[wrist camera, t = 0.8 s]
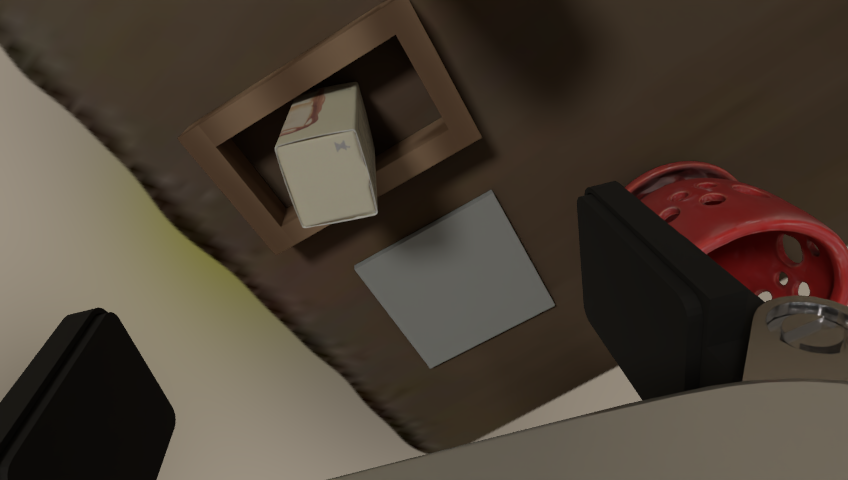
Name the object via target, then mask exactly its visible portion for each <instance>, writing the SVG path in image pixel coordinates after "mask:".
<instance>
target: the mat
mask: <svg viewBox="0 0 848 480" xmlns="http://www.w3.org/2000/svg"><path fill="white" fill-rule="evenodd" d="M355 271H356V272H357V273H358V275H359V276H360V277H361V279H362V280H363V281H364V282H365V284H366V285H367V286H368V288H369V289H370V290H371V292H372V293H373V294H374V296H375V297H376V298H377V299H378V301H379V302H380V303H381V305H382V306H383V307H384V309H385V310H386V311H387V313H388V314H389V315H390V316H391V318H392V319H393V320H394V322H395V323H396V324H397V326H398V327H399V328H400V329H401V331H402V332H403V333H404V335H405V336H406V337H407V339H408V340H409V341H410V343H411V344H412V345H413V346H414V348H415V349H416V350H417V352H418V353H419V354H420V356H421V357H422V358H423V360H424V361H425V362H426V363H427V365H428V366H429V367H430V369H431V368H433V367H435V366H437V365H439V364H441V363H443V362H445V361H447V360H448V359H450V358H452V357H454V356H456V355H458V354H460V353H462V352H464V351H466V350H468V349H470V348H472V347H474V346H476V345H478V344H480V343H482V342H484V341H486V340H488V339H490V338H492V337H494V336H496V335H498V334H500V333H502V332H504V331H506V330H508V329H510V328H512V327H514V326H516V325H518V324H520V323H522V322H524V321H526V320H528V319H530V318H532V317H534V316H536V315H538V314H539V313H541V312H543V311H545V310H547V309H549V308H551V307H553V306H555V304H554V302H553V300H552V298H551V297H550V295H549V293H548V291H547V289H546V288H545V286H544V284H543V282H542V280H541V279H540V277H539V275H538V273H537V271H536V269H535V268H534V266H533V264H532V262H531V260H530V259H529V257H528V255H527V253H526V251H525V250H524V248H523V246H522V244H521V242H520V241H519V239H518V237H517V235H516V233H515V231H514V230H513V228H512V226H511V224H510V222H509V221H508V219H507V217H506V215H505V213H504V212H503V210H502V208H501V206H500V204H499V202H498V201H497V199H496V197H495V195H494V193H493V192H492V190H490V191H488V192H486V193H485V194H483V195H481V196H479V197H477V198H476V199H474V200H472V201H470V202H468V203H467V204H465V205H463V206H461V207H459V208H458V209H456V210H454V211H452V212H450V213H448V214H447V215H445V216H443V217H441V218H439V219H438V220H436V221H434V222H432V223H430V224H429V225H427V226H425V227H423V228H421V229H420V230H418V231H416V232H414V233H412V234H411V235H409V236H407V237H405V238H403V239H402V240H400V241H398V242H396V243H394V244H393V245H391V246H389V247H387V248H385V249H383V250H382V251H380V252H378V253H376V254H374V255H373V256H371V257H369V258H367V259H365V260H364V261H362V262H360V263H358V264H356V265H355Z"/></svg>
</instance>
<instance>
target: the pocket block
mask: <svg viewBox="0 0 848 480" xmlns="http://www.w3.org/2000/svg"><path fill="white" fill-rule="evenodd" d="M394 35H396V36H397V38H398V40H399V41H400V43H401V45H402V47H403V49H404V50H405V52H406V54H407V56H408V57H409V59H410V61H411V63H412V65H413V66H414V68H415V70H416V72H417V74H418V75H419V77H420V79H421V81H422V82H423V84H424V86H425V88H426V90H427V91H428V93H429V95H430V97H431V98H432V100H433V102H434V104H435V106H436V107H437V109H438V111H439V113H440V114H441V116H442V117H441V118H440V119H438V120H436V121H435V122H433V123H431V124H429V125H428V126H426V127H424V128H423V129H421V130H419V131H417V132H416V133H414V134H412V135H411V136H409V137H407V138H406V139H404V140H402V141H400V142H399V143H397V144H395V145H394V146H392V147H390V148H389V149H387V150H385V151H383V152H382V153H380V154H378V155H377V156H375V168H376V187H377V198H378V197H379V196H381V195H383V194H384V193H386V192H388V191H390V190H391V189H393V188H395V187H397V186H398V185H400V184H402V183H404V182H405V181H407V180H409V179H411V178H412V177H414V176H416V175H418V174H419V173H421V172H423V171H425V170H426V169H428V168H430V167H432V166H433V165H435V164H437V163H439V162H440V161H442V160H444V159H446V158H447V157H449V156H451V155H453V154H454V153H456V152H458V151H460V150H461V149H463V148H465V147H467V146H468V145H470V144H472V143H474V142H475V141H477V140H479V139H481V138H482V136H481V135H480V133H479V131H478V129H477V127H476V125H475V123H474V121H473V120H472V118H471V116H470V114H469V112H468V110H467V108H466V106H465V104H464V103H463V101H462V99H461V97H460V95H459V93H458V91H457V89H456V88H455V86H454V84H453V82H452V80H451V78H450V76H449V74H448V73H447V71H446V69H445V67H444V65H443V63H442V61H441V59H440V58H439V56H438V54H437V52H436V50H435V48H434V46H433V44H432V42H431V41H430V39H429V37H428V35H427V33H426V31H425V29H424V27H423V26H422V24H421V22H420V20H419V18H418V16H417V14H416V12H415V11H414V9H413V7H412V5H411V3H410V1H409V0H385V1H384V2H382V3H381V4H379V5H378V6H376V7H375V8H373V9H371V10H370V11H368V12H367V13H365V14H364V15H362V16H360V17H359V18H357V19H356V20H354V21H353V22H351V23H349V24H348V25H346V26H345V27H343V28H342V29H340V30H338V31H337V32H335V33H334V34H332V35H331V36H329V37H327V38H326V39H324V40H323V41H321V42H320V43H318V44H316V45H315V46H313V47H312V48H310V49H309V50H307V51H306V52H304V53H302V54H301V55H299V56H298V57H296V58H295V59H293V60H291V61H290V62H288V63H287V64H285V65H284V66H282V67H280V68H279V69H277V70H276V71H274V72H273V73H271V74H269V75H268V76H266V77H265V78H263V79H262V80H260V81H258V82H257V83H255V84H254V85H252V86H251V87H249V88H248V89H246V90H244V91H243V92H241V93H240V94H238V95H237V96H235V97H233V98H232V99H230V100H229V101H227V102H226V103H224V104H222V105H221V106H219V107H218V108H216V109H215V110H213V111H211V112H210V113H208V114H207V115H205V116H204V117H202V118H200V119H199V120H197V121H196V122H194V123H193V124H191V125H190V126H189V127H188V128H187V129H186V130H185V131H184V132H183V133H182V134H181V135H180V136H179V137H178V138H177V139H178V140H179V141H180V142H181V144H182V145H183V146H184V147H185V148H186V150H187V151H188V152H189V153H190V154H191V156H192V157H193V158H194V159H195V160H196V161H197V163H198V164H199V165H200V166H201V167H202V169H203V170H204V171H205V172H206V173H207V174H208V176H209V177H210V178H211V179H212V180H213V182H214V183H215V184H216V185H217V186H218V187H219V189H220V190H221V191H222V192H223V193H224V195H225V196H226V197H227V198H228V199H229V201H230V202H231V203H232V204H233V205H234V206H235V208H236V209H237V210H238V211H239V212H240V214H241V215H242V216H243V217H244V218H245V219H246V221H247V222H248V223H249V224H250V225H251V227H252V228H253V229H254V230H255V231H256V232H257V234H258V235H259V236H260V237H261V238H262V240H263V241H264V242H265V243H266V244H267V246H268V247H269V248H270V249H271V250H272V251H273V253H274V254H275V255H278V254H280V253H281V252H283V251H285V250H287V249H288V248H290V247H292V246H294V245H295V244H297V243H299V242H301V241H302V240H304V239H306V238H308V237H309V236H311V235H313V234H315V233H316V232H318V231H320V230H322V229H323V228H325V227H327V226H329V225H330V224H328V225H321V226H315V227H309V228H303V227H302V225H301V223H300V221H299V218H298V216H297V213H296V211H295V209H294V206H293V205H291V206H290V207H288V208H286V207H285V206H284V205H283V204H282V202H281V201H280V200H279V199H278V197H277V196H276V195H275V193H274V192H273V191H272V190H271V188H270V187H269V186H268V185H267V183H266V182H265V181H264V180H263V178H262V177H261V176H260V174H259V173H258V172H257V171H256V169H255V168H254V167H253V166H252V164H251V163H250V162H249V161H248V159H247V158H246V157H245V155H244V154H243V153H242V152H241V150H240V149H239V148H238V147H237V145H236V144H235V143H234V142H233V140H232V139H231V137H233V136H234V135H236V134H237V133H239V132H241V131H242V130H244V129H245V128H247V127H249V126H250V125H252V124H253V123H255V122H257V121H258V120H260V119H261V118H263V117H265V116H266V115H268V114H269V113H271V112H273V111H274V110H276V109H277V108H279V107H281V106H282V105H284V104H285V103H287V102H289V101H290V100H292V99H293V98H295V97H297V96H298V95H300V94H302V93H303V92H305V91H306V90H308V89H310V88H311V87H313V86H314V85H316V84H318V83H319V82H321V81H322V80H324V79H326V78H327V77H329V76H330V75H332V74H334V73H335V72H337V71H338V70H340V69H342V68H343V67H345V66H346V65H348V64H350V63H351V62H353V61H354V60H356V59H358V58H359V57H361V56H362V55H364V54H366V53H367V52H369V51H370V50H372V49H374V48H375V47H377V46H378V45H380V44H382V43H383V42H385V41H386V40H388V39H390V38H391V37H393V36H394Z"/></svg>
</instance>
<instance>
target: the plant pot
mask: <svg viewBox="0 0 848 480" xmlns="http://www.w3.org/2000/svg"><path fill="white" fill-rule="evenodd" d="M625 188H626V189H627V190H628V191H629V192H630V193H632V194H633V195H634V196H635V197H637V198H638V199H639V200H640V201H641V202H643V203H644V204H645V205H646V206H647V207H649V208H650V209H651V210H652V211H654V212H655V213H656V214H657V215H658V216H660V217H661V218H662V219H663V220H665V221H666V222H667V223H668V224H669V225H671V226H672V227H673V228H674V229H675V230H677V231H678V232H679V233H680V234H682V235H683V236H685V237H686V238H687V239H688V240H690V241H691V242H692V243H693V244H694V245H696V246H697V247H698V248H699V249H701V250H702V251H703V252H704V253H705V254H707V255H708V256H709V257H710V258H712V259H713V260H714V261H715V262H716V263H718V264H719V265H720V266H721V267H722V268H724V269H725V270H726V271H727V272H729V273H730V274H731V275H732V276H733V277H735V278H736V279H737V280H738V281H740V282H741V283H742V284H743V285H744V286H746V287H747V288H748V289H749V290H751V291H752V292H753V293H754V294H755V295H757V296H758V295H759V294H761V293H762V292H765V291H768V292H770V293H771V295H772V299H775V298H778V297H785V296H795V295H798V288H799V285H800V284H801V282H805V283H807V284H808V286H809V289H810V295H809V296H812V297H818V298H823V299H827V300H832V301H835V302H837V303H840V304H843V305H845V306H847V305H848V249H847V247H846V245H845V244H844V242H843V241H842V240H841V238H840V237H839V236H838V235H837V234H836V233H835V232H833V231H832V230H831V229H830V228H829V227H827V226H826V225H824V224H823V223H822V222H820V221H819V220H817V219H816V218H814V217H813V216H811V215H810V214H808V213H806V212H805V211H803V210H801V209H799V208H797V207H796V206H794V205H792V204H790V203H788V202H786V201H785V200H783V199H781V198H780V197H778V196H775V195H773V194H771V193H769V192H767V191H764V190H762V189H760V188H757V187H754V186H751V185H748V184H745V183H741V182H738V181H737V180H736V179H735V178H734V177H733V176H732V175H731V174H730V173H728V172H727V171H726V170H724V169H722V168H720V167H718V166H715V165H712V164H709V163H705V162H698V161H682V162H675V163H670V164H666V165H662V166H659V167H656V168H654V169H652V170H650V171H648V172H646V173H644V174H642V175H641V176H639V177H638V178H636V179H635V180H633V181H632V182H631V183H629V184H628V185H627V186H626V187H625ZM784 234H786V235H788V236H791V237H794V238H795V239H796V240H797V241H798V242H799V243H800V245H801V250H802V253H803V256H802V259H803V260H802V261H801V262H800V263H795V262H793V261H792V260H790V259H789V258H788V256H787V255H786V253H785V250H784V247H783V236H784ZM814 244H815V245H816V246H817V247H818V249H819V250H817V248H816V247H815V245H814ZM781 272H784V273H785V274H786V275H787V277H788V282H787V284H786V285H782V284H781V283H780V282H779V274H780V273H781ZM798 296H799V295H798Z"/></svg>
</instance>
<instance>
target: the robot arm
mask: <svg viewBox="0 0 848 480" xmlns="http://www.w3.org/2000/svg"><path fill="white" fill-rule="evenodd" d="M577 212H578V226H579V241H580V256H581V271H582V285H583V300H584V309H585V312H586V316H587V318H588V320H589V322H590V324H591V325H592V327H593V328H594V330H595V331H596V332H597V334H598V335H599V337H600V338H601V340H602V341H603V343H604V344H605V346H606V347H607V349H608V350H609V352H610V353H611V355H612V356H613V358H614V359H615V361H616V362H617V363H618V365H619V366H620V368H621V369H622V371H623V372H624V374H625V375H626V377H627V378H628V380H629V381H630V383H631V384H632V385H633V387H634V389H635V390H636V392H637V393H638V394H639V396H640V397H641V399H642V400H643V401H638V402H634V403H629V404H625V405H621V406H617V407H614V408H609V409H605V410H601V411H597V412H594V413H589V414H586V415H581V416H577V417H574V418H569V419H566V420H561V421H557V422H553V423H549V424H546V425H541V426H538V427H533V428H530V429H525V430H521V431H517V432H513V433H510V434H505V435H501V436H497V437H493V438H489V439H485V440H481V441H477V442H473V443H469V444H465V445H462V446H458V447H454V448H450V449H446V450H442V451H438V452H434V453H430V454H426V455H422V456H418V457H414V458H410V459H406V460H403V461H399V462H395V463H391V464H387V465H383V466H379V467H375V468H371V469H367V470H363V471H359V472H356V473H352V474H348V475H344V476H340V477H336V478H332V479H328V480H848V306H845V305H843V304H840V303H837V302H835V301H832V300H827V299H823V298H818V297H812V296H798V295H795V296H785V297H778V298H775V299H772V300H769V301H766V302H764V301H763V300H761V299H760V298H759V297H758V296H757V295H755V294H754V293H753V292H752V291H751V290H749V289H748V288H747V287H746V286H744V285H743V284H742V283H741V282H740V281H738V280H737V279H736V278H735V277H733V276H732V275H731V274H730V273H729V272H727V271H726V270H725V269H724V268H722V267H721V266H720V265H719V264H718V263H716V262H715V261H714V260H713V259H712V258H710V257H709V256H708V255H707V254H705V253H704V252H703V251H702V250H701V249H699V248H698V247H697V246H696V245H694V244H693V243H692V242H691V241H690V240H688V239H687V238H686V237H685V236H683V235H682V234H680V233H679V232H678V231H677V230H675V229H674V228H673V227H672V226H671V225H669V224H668V223H667V222H666V221H665V220H663V219H662V218H661V217H660V216H658V215H657V214H656V213H655V212H654V211H652V210H651V209H650V208H649V207H647V206H646V205H645V204H644V203H643V202H641V201H640V200H639V199H638V198H637V197H635V196H634V195H633V194H632V193H630V192H629V191H628V190H627V189H626V188H624V187H623V186H622V185H621V184H620V183H618V182H616V181H613V182H609V183H605V184H601V185H596V186H592V187H588V188H587V189H586V190H585V196H581V197H579V198H578V200H577ZM175 420H176V419H175V413H174V410H173V408H172V406H171V404H170V403H169V401H168V399H167V398H166V396H165V394H164V393H163V391H162V389H161V387H160V386H159V384H158V383H157V381H156V379H155V377H154V376H153V374H152V372H151V371H150V369H149V368H148V366H147V364H146V362H145V361H144V359H143V358H142V356H141V354H140V352H139V351H138V349H137V347H136V346H135V345H134V343H133V341H132V339H131V338H130V336H129V334H128V333H127V331H126V329H125V328H124V326H123V324H122V323H121V321H120V319H119V318H118V316H117V315H115V314H114V313H112V312H109V313H108V312H107V311H105V310H104V309H102V308H95V309H91V310H87V311H83V312H79V313H75V314H71V315H67V316H66V317H65V318H64V319H63V320H62V322H61V323H60V324H59V326H58V327H57V328H56V330H55V331H54V332H53V334H52V335H51V336H50V337H49V339H48V340H47V341H46V343H45V344H44V346H43V347H42V348H41V350H40V351H39V352H38V353H37V355H36V356H35V357H34V359H33V360H32V361H31V363H30V364H29V365H28V367H27V368H26V369H25V371H24V372H23V373H22V375H21V376H20V377H19V379H18V380H17V381H16V383H15V384H14V385H13V387H12V388H11V389H10V391H9V392H8V393H7V394H6V396H5V397H4V398H3V400H2V401H1V402H0V480H156V479H157V476H158V473H159V471H160V468H161V465H162V462H163V459H164V456H165V453H166V450H167V448H168V445H169V442H170V439H171V436H172V433H173V430H174V427H175Z"/></svg>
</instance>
